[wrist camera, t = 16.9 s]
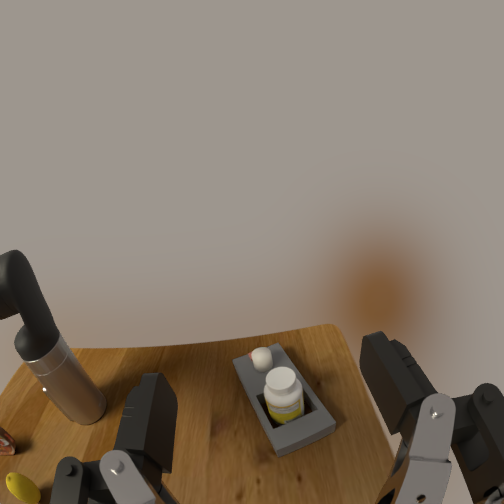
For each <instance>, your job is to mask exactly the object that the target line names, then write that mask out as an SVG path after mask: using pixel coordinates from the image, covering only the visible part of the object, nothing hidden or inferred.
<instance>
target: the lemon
mask: <svg viewBox="0 0 504 504" xmlns="http://www.w3.org/2000/svg"><path fill="white" fill-rule="evenodd" d="M6 484H7V487H8V489H9V490H10V492H11V493H12V494H13V495H14V496H15V497H17V498H18V499H19V500H21V501H23V502H25V503H28V504H36V503H38V502H39V501H40V498H41V495H40V491H39V489H38V487H37V486H36V485H35V484H34V483H33V482H32V481H31V480H30V479H29V478H27V477H25V476H24V475H21V474H19V473H10V474H8V475H7V477H6Z"/></svg>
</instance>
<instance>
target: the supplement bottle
mask: <svg viewBox="0 0 504 504" xmlns="http://www.w3.org/2000/svg"><path fill="white" fill-rule="evenodd" d="M264 397H265V400H266V403H267V407H268V410H269V414H270V417H271V419H272V420H273V422H275V423H276V424H278V425H280V426H282V425H285V424H287V423H289V422H292V421H294V420H296V419H298V418H301V417H303V415H304V399H303V388H302V384H301V382H300V381H299V380H298V379H297V378H296V375H295V373H294V371H293V370H292V369H290V368H288V367H277V368H274V369H272V370H271V371H270V372H269V373H268V374H267V376H266V385H265V387H264Z"/></svg>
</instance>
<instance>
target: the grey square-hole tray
mask: <svg viewBox="0 0 504 504" xmlns="http://www.w3.org/2000/svg"><path fill="white" fill-rule="evenodd" d="M232 361H233V364H234V367H235V370H236V372H237V374H238V377H239V379H240V381H241V383H242V385H243V388H244V390H245V392H246V394H247V396H248V398H249V400H250V402H251V405H252V407H253V409H254V411H255V413H256V415H257V417H258V419H259V421H260V423H261V425H262V427H263V429H264V431H265V433H266V435H267V437H268V439H269V441H270V443H271V444H272V446H273V448H274V450H275V452H276V454H277V456H278V458H279V457H281V456H284V455H286V454H288V453H291V452H293V451H295V450H298V449H300V448H302V447H304V446H306V445H309V444H311V443H313V442H315V441H317V440H319V439H321V438H323V437H325V436H327V435H329V434H331V433H333V432H334V431H335V427H336V422H335V420H334V419H333V418H332V416H331V415H330V414H329V412H328V411H327V410H326V408H325V407H324V406H323V404H322V403H321V401H320V400H319V399H318V397H317V396H316V395H315V393H314V392H313V391H312V389H311V388H310V386H309V385H308V384H307V382H306V381H305V380H304V378H303V377H302V375H301V374H300V373H299V371H298V370H297V368H296V367H295V366H294V364H293V363H292V361H291V360H290V359H289V357H288V356H287V354H286V353H285V352H284V350H283V349H282V347H281V346H280V344H279V343H276V344H274V345H271V346H268V347H260V348H257V349H255V350H254V351H253V352H250V353H248V354H247V355H244V356H242V357H239V358H236V359H233V360H232ZM277 367H288V368H290V369H292V370H293V371H294V373H295V375H296V378H297V379H298V380H299V381H300V382H301V384H302V388H303V398H304V399H305V401H306V402H307V404H308V405H309V407H310V408H311V410H312V411H313V412H311V413H309V414H307V415H305V416H303V417H301V418H298V419H296V420H294V421H292V422H289V423H287V424H285V425H282V426H280V427H278V428H275V429H273V428H272V426H271V424H270V422H269V420H268V418H267V416H266V415H265V413H264V411H263V409H262V407H261V404H264V403H266V400H265V397H264V387H265V385H266V376H267V374H268V373H269V372H270V371H271V370H272V369H274V368H277Z"/></svg>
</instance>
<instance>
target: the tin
mask: <svg viewBox="0 0 504 504" xmlns="http://www.w3.org/2000/svg"><path fill="white" fill-rule="evenodd" d="M15 446H16V444H15V441H14V439H13V438H12V437H11V436H10V435H9V434H8V433H7V432H6V431H5V430H4V429H3V428H1V427H0V455H13V454H14V453H15Z"/></svg>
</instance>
